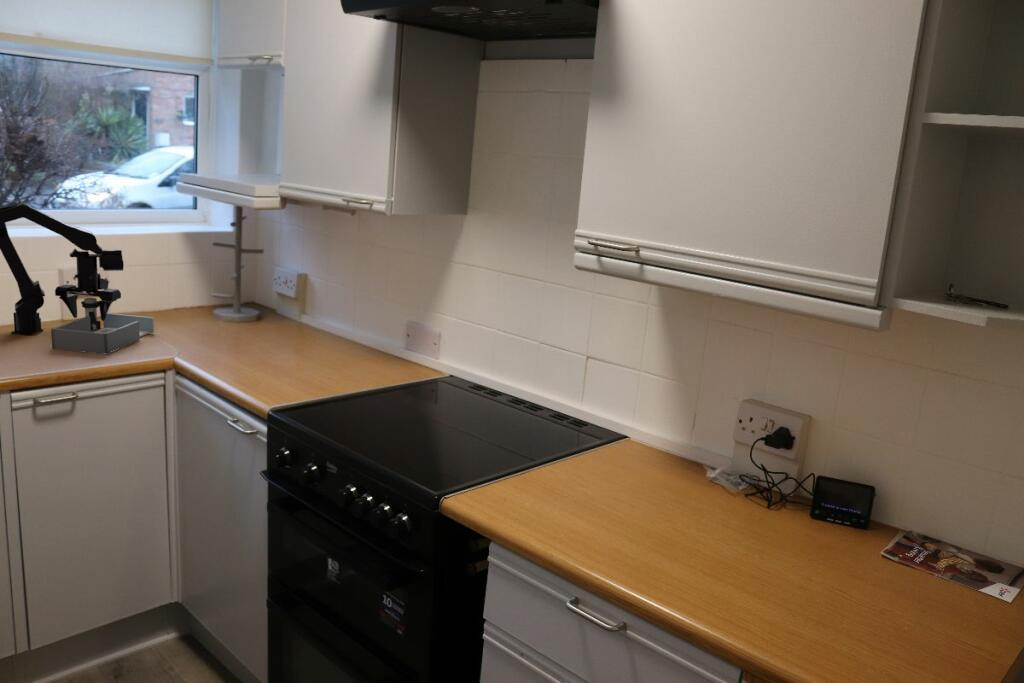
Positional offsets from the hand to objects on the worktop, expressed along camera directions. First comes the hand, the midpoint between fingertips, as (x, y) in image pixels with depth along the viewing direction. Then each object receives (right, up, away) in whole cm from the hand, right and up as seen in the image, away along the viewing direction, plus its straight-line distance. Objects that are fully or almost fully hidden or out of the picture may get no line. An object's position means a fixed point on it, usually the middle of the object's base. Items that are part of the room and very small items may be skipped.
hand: (89, 319), depth 259 cm
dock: (+10, -8, -15) cm, 19 cm away
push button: (0, -4, +1) cm, 4 cm away
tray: (+11, -6, -5) cm, 13 cm away
